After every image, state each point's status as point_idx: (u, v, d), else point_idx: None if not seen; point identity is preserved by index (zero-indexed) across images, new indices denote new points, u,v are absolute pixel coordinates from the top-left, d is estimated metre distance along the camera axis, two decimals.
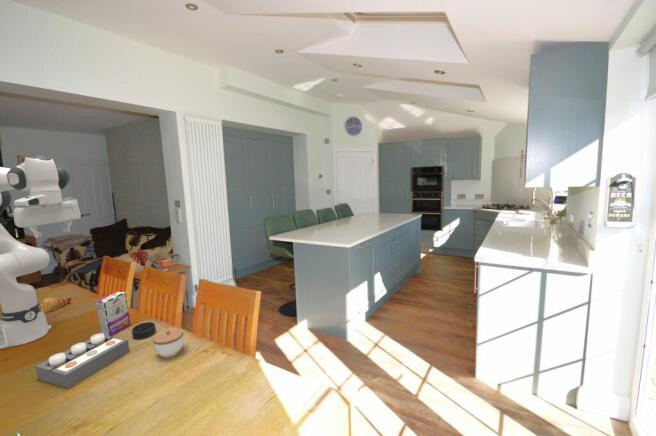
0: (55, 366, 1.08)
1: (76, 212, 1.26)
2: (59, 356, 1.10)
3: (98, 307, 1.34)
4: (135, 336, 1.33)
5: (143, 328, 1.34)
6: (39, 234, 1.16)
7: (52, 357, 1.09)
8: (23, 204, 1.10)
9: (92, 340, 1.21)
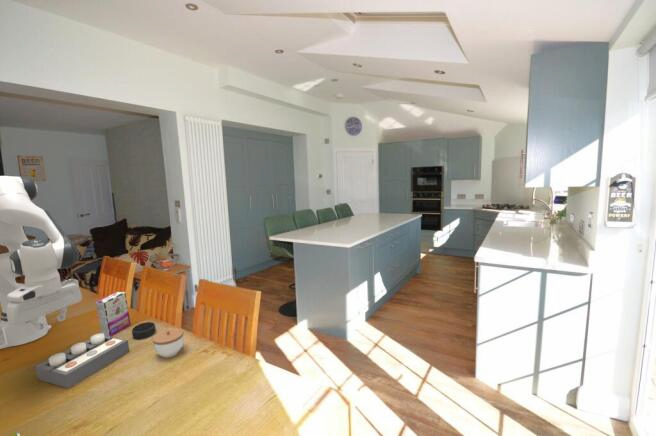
0: (55, 366, 1.08)
1: (77, 295, 1.14)
2: (59, 356, 1.10)
3: (98, 307, 1.34)
4: (135, 336, 1.33)
5: (143, 328, 1.34)
6: (41, 326, 1.05)
7: (52, 357, 1.09)
8: (17, 300, 0.97)
9: (92, 340, 1.21)
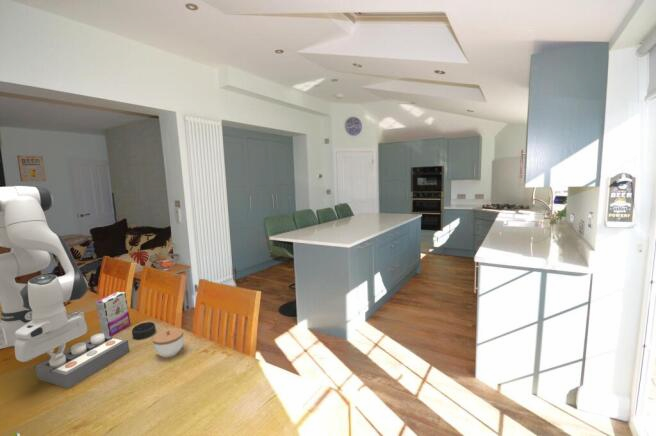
0: (55, 368, 1.08)
1: (83, 327, 1.16)
2: (60, 358, 1.10)
3: (98, 307, 1.34)
4: (135, 336, 1.33)
5: (143, 328, 1.34)
6: (56, 356, 1.09)
7: None
8: (25, 338, 0.99)
9: (92, 340, 1.21)
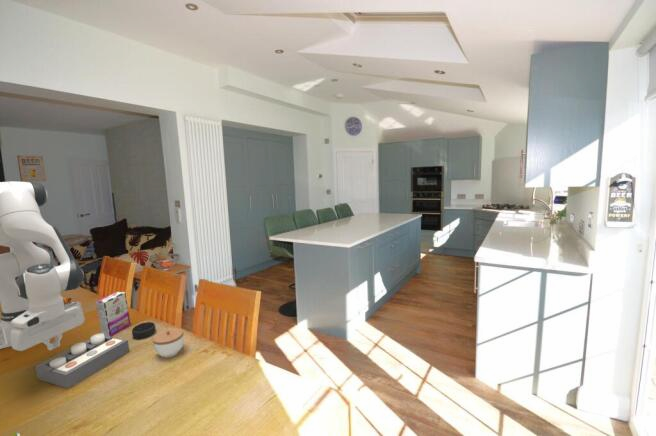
0: None
1: (80, 318, 1.16)
2: (60, 361, 1.10)
3: (98, 307, 1.34)
4: (135, 336, 1.33)
5: (143, 328, 1.34)
6: (52, 346, 1.08)
7: (53, 361, 1.10)
8: (21, 327, 0.99)
9: (92, 340, 1.21)
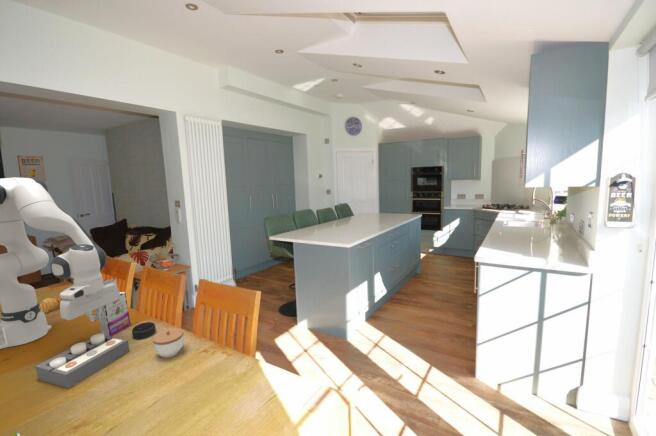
0: None
1: (116, 294, 1.28)
2: (60, 361, 1.10)
3: None
4: (135, 336, 1.33)
5: (143, 328, 1.34)
6: (94, 318, 1.21)
7: (53, 361, 1.10)
8: (69, 298, 1.11)
9: (92, 340, 1.21)
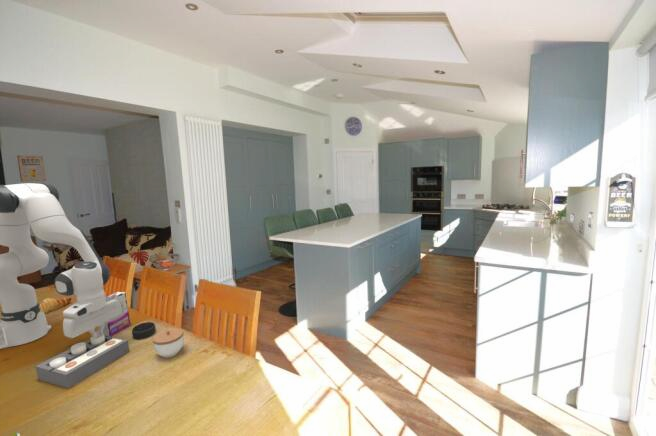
0: None
1: (118, 310, 1.29)
2: (60, 361, 1.10)
3: None
4: (135, 336, 1.33)
5: (143, 328, 1.34)
6: (96, 335, 1.22)
7: (53, 361, 1.10)
8: (72, 316, 1.12)
9: (92, 340, 1.21)
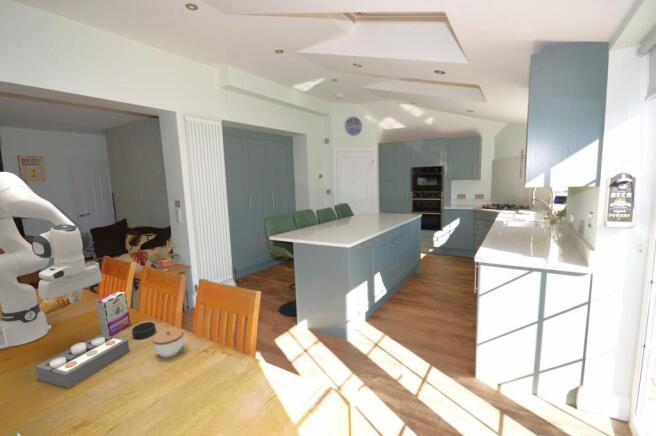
0: None
1: (98, 276, 1.26)
2: (60, 361, 1.10)
3: (98, 307, 1.34)
4: (135, 336, 1.33)
5: (143, 328, 1.34)
6: (74, 300, 1.19)
7: (53, 361, 1.10)
8: (48, 278, 1.09)
9: (93, 344, 1.21)
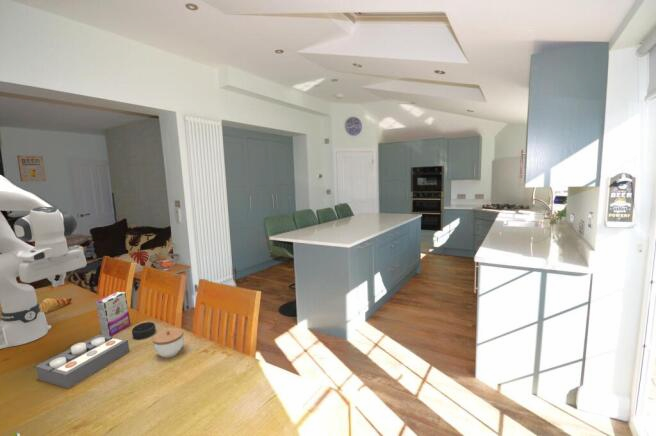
0: None
1: (82, 260, 1.24)
2: (60, 361, 1.10)
3: (98, 307, 1.34)
4: (135, 336, 1.33)
5: (143, 328, 1.34)
6: (57, 283, 1.17)
7: (53, 361, 1.10)
8: (28, 260, 1.07)
9: (93, 344, 1.21)
